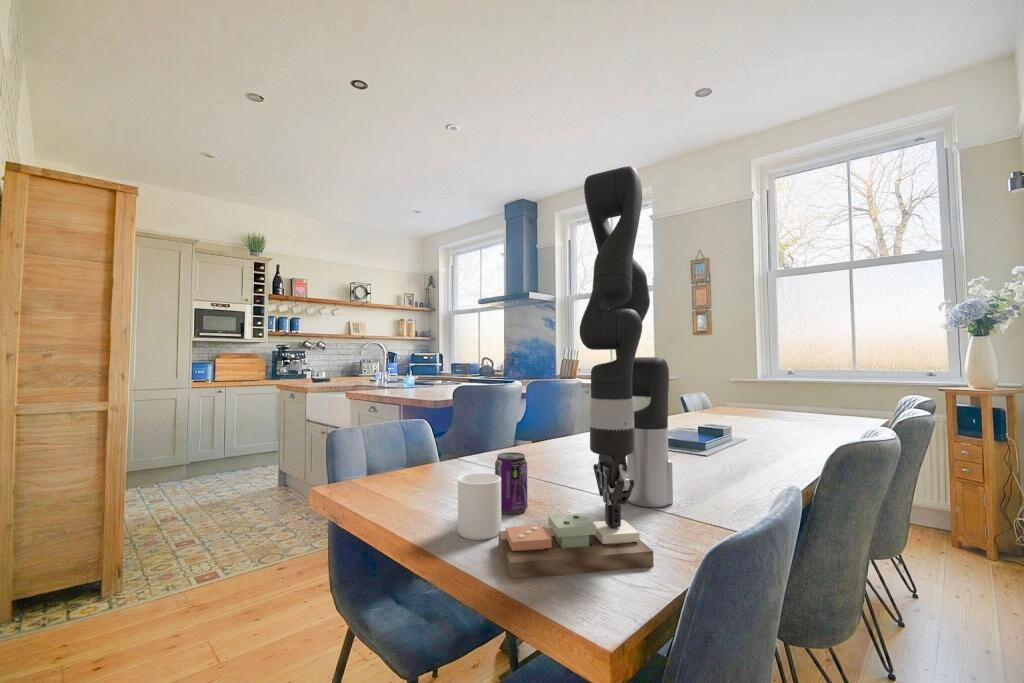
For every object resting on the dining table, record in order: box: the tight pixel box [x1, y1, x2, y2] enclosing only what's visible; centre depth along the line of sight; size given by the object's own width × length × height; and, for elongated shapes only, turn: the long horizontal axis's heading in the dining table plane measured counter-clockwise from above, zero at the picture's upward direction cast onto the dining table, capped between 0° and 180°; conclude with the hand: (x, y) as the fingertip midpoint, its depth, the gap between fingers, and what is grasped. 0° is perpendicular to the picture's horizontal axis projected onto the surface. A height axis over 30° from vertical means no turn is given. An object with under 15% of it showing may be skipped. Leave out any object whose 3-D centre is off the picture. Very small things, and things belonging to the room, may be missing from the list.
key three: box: [505, 524, 552, 552], centre depth 78 cm, size 6×6×4 cm
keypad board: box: [498, 527, 655, 580], centre depth 79 cm, size 23×13×2 cm, turn 100°
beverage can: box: [494, 451, 529, 515], centre depth 103 cm, size 7×7×12 cm
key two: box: [547, 512, 596, 548], centre depth 79 cm, size 6×6×4 cm
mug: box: [457, 472, 502, 541], centre depth 91 cm, size 12×8×10 cm
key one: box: [592, 519, 640, 545], centre depth 80 cm, size 6×6×4 cm
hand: (613, 526), depth 80 cm, fingers closed
